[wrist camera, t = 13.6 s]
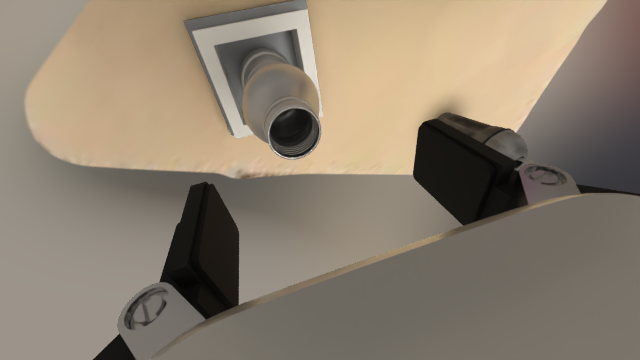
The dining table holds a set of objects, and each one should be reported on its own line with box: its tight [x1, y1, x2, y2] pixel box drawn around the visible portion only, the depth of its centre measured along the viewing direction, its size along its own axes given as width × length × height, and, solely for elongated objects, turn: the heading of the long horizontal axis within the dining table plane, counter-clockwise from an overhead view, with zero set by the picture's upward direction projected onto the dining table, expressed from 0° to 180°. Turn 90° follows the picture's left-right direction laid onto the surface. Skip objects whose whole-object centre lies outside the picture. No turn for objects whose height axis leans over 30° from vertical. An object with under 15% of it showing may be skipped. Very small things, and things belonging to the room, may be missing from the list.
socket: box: [184, 0, 323, 139], centre depth 30 cm, size 14×14×5 cm
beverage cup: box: [438, 113, 538, 170], centre depth 38 cm, size 7×7×20 cm
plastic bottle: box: [239, 48, 321, 159], centre depth 23 cm, size 6×7×20 cm
